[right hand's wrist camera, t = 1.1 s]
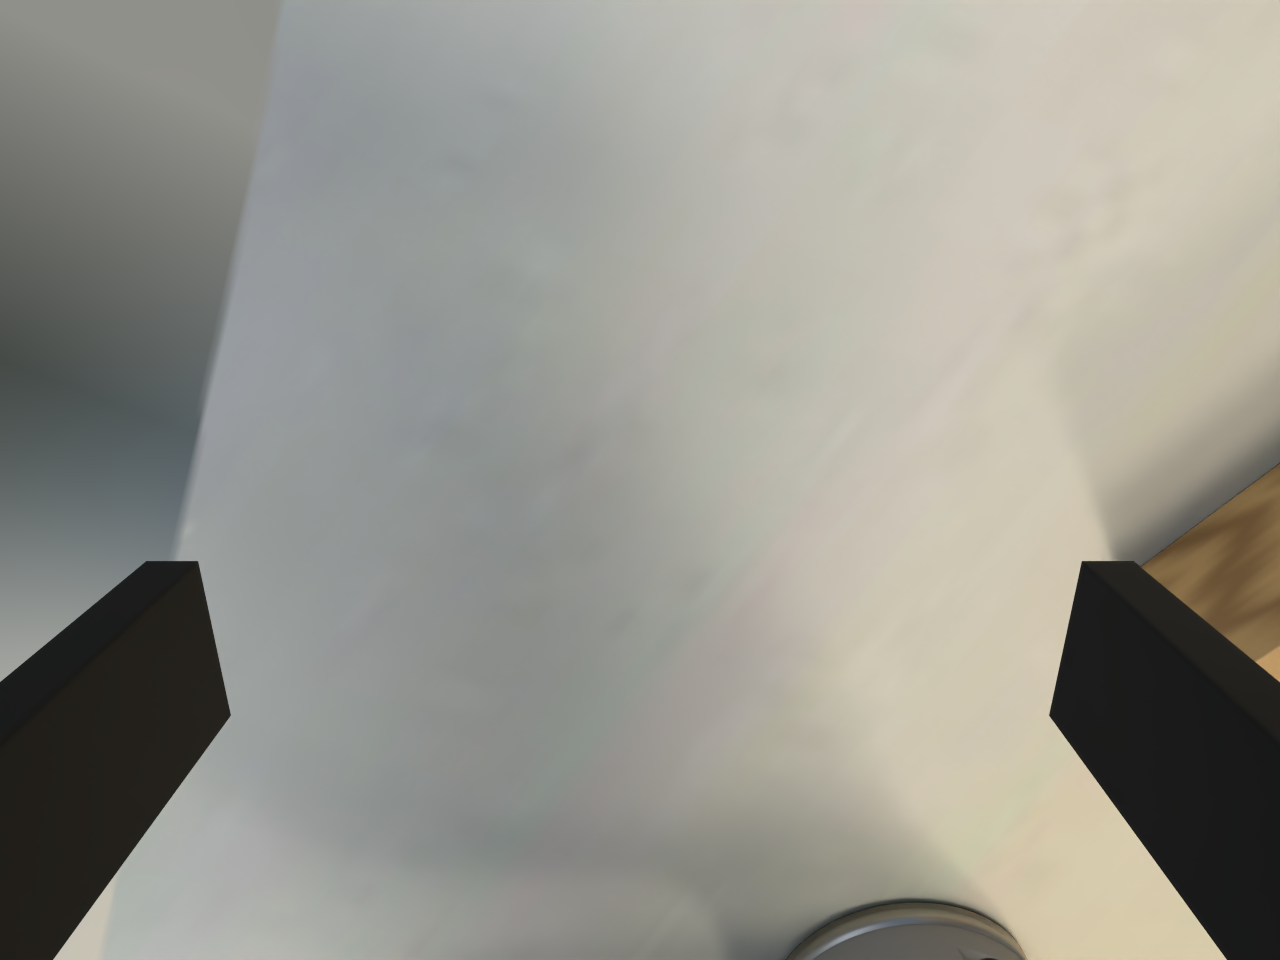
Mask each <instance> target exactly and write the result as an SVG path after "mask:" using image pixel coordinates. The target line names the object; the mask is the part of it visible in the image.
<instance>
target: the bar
mask: <svg viewBox="0 0 1280 960" xmlns="http://www.w3.org/2000/svg"><path fill="white" fill-rule="evenodd" d="M1141 568H1142V569H1144V570H1145V571H1146V572H1147V573H1148V574H1150V575H1151V576H1152V577H1153V578H1154V579H1156V580H1157V581H1158V582H1159V583H1160V584H1162V585H1163V586H1164V587H1165V588H1167V589H1168V590H1169V591H1170V592H1171V593H1173V594H1174V595H1175V596H1176V597H1177V598H1179V599H1180V600H1181V601H1182V602H1183V603H1185V604H1186V605H1187V606H1188V607H1190V608H1191V609H1192V610H1193V611H1194V612H1196V613H1197V614H1198V615H1199V616H1200V617H1202V618H1203V619H1204V620H1205V621H1206V622H1208V623H1209V624H1210V625H1211V626H1212V627H1214V628H1215V629H1216V630H1217V631H1219V632H1220V633H1221V634H1222V635H1223V636H1225V637H1226V638H1227V639H1228V640H1229V641H1231V642H1232V643H1233V644H1234V645H1235V646H1237V647H1238V648H1239V649H1240V650H1242V651H1243V652H1244V653H1245V654H1246V655H1248V656H1249V657H1250V658H1251V659H1252V660H1254V661H1255V662H1256V663H1257V664H1258V665H1260V666H1261V667H1262V668H1263V669H1265V670H1266V671H1267V672H1268V673H1269V674H1271V675H1272V676H1273V677H1274V678H1275V679H1277V680H1278V681H1279V682H1280V464H1279V465H1277V466H1276V467H1275V468H1273V469H1272V470H1271V471H1269V472H1268V473H1267V474H1265V475H1264V476H1262V477H1261V478H1260V479H1258V480H1257V481H1256V482H1254V483H1253V484H1252V485H1250V486H1249V487H1248V488H1246V489H1245V490H1244V491H1242V492H1241V493H1240V494H1238V495H1237V496H1236V497H1234V498H1233V499H1232V500H1230V501H1229V502H1227V503H1226V504H1225V505H1223V506H1222V507H1221V508H1219V509H1218V510H1217V511H1215V512H1214V513H1213V514H1211V515H1210V516H1209V517H1207V518H1206V519H1205V520H1203V521H1202V522H1201V523H1199V524H1198V525H1197V526H1195V527H1194V528H1192V529H1191V530H1190V531H1188V532H1187V533H1186V534H1184V535H1183V536H1182V537H1180V538H1179V539H1178V540H1176V541H1175V542H1174V543H1172V544H1171V545H1170V546H1168V547H1167V548H1166V549H1164V550H1163V551H1162V552H1160V553H1159V554H1157V555H1156V556H1155V557H1153V558H1152V559H1151V560H1149V561H1148V562H1147V563H1145V564H1144V565H1143V566H1141Z"/></svg>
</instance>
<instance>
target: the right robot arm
mask: <svg viewBox="0 0 1280 960" xmlns="http://www.w3.org/2000/svg"><path fill="white" fill-rule="evenodd" d="M230 716H231V714H230V710H229V705H228V700H227V695H226V691H225V686H224V681H223V677H222V672H221V667H220V662H219V658H218V653H217V648H216V644H215V639H214V634H213V629H212V625H211V620H210V615H209V611H208V606H207V601H206V596H205V592H204V587H203V582H202V578H201V573H200V568H199V564H198V561H146V562H145V563H144V564H142V565H141V566H140V567H139V568H138V569H136V570H135V571H134V572H133V573H132V574H130V575H129V576H128V577H127V578H126V579H124V580H123V581H122V582H121V583H120V584H118V585H117V586H116V587H115V588H113V589H112V590H111V591H110V592H109V593H107V594H106V595H105V596H104V597H103V598H101V599H100V600H99V601H98V602H97V603H95V604H94V605H93V606H92V607H91V608H89V609H88V610H87V611H86V612H84V613H83V614H82V615H81V616H80V617H78V618H77V619H76V620H75V621H74V622H72V623H71V624H70V625H69V626H68V627H66V628H65V629H64V630H63V631H61V632H60V633H59V634H58V635H57V636H55V637H54V638H53V639H52V640H51V641H49V642H48V643H47V644H46V645H45V646H43V647H42V648H41V649H40V650H38V651H37V652H36V653H35V654H34V655H32V656H31V657H30V658H29V659H28V660H26V661H25V662H24V663H23V664H22V665H20V666H19V667H18V668H17V669H15V670H14V671H13V672H12V673H11V674H10V675H8V676H7V677H6V678H5V679H3V680H2V681H1V682H0V960H53V959H54V958H55V956H56V955H57V954H58V952H59V951H60V949H61V948H62V947H63V945H64V944H65V943H66V941H67V940H68V938H69V937H70V936H71V934H72V933H73V932H74V930H75V929H76V927H77V926H78V925H79V923H80V922H81V921H82V919H83V918H84V916H85V915H86V914H87V912H88V911H89V909H90V908H91V907H92V905H93V904H94V903H95V901H96V900H97V899H98V897H99V896H100V894H101V893H102V892H103V890H104V889H105V888H106V886H107V885H108V883H109V882H110V881H111V879H112V878H113V877H114V875H115V874H116V872H117V871H118V870H119V868H120V867H121V866H122V864H123V863H124V861H125V860H126V859H127V857H128V856H129V855H130V853H131V852H132V850H133V849H134V848H135V846H136V845H137V844H138V842H139V841H140V839H141V838H142V837H143V835H144V834H145V833H146V831H147V830H148V828H149V827H150V826H151V824H152V823H153V822H154V820H155V819H156V818H157V816H158V815H159V813H160V812H161V811H162V809H163V808H164V807H165V805H166V804H167V802H168V801H169V800H170V798H171V797H172V796H173V794H174V793H175V791H176V790H177V789H178V787H179V786H180V785H181V783H182V782H183V780H184V779H185V778H186V776H187V775H188V774H189V772H190V771H191V769H192V768H193V767H194V765H195V764H196V763H197V761H198V760H199V758H200V757H201V756H202V754H203V753H204V752H205V750H206V749H207V747H208V746H209V745H210V743H211V742H212V741H213V739H214V738H215V736H216V735H217V734H218V732H219V731H220V730H221V728H222V727H223V725H224V724H225V723H226V721H227V720H228V719H229V717H230ZM1049 716H1050V717H1051V719H1052V720H1053V721H1054V723H1055V724H1056V725H1057V727H1058V728H1059V730H1060V731H1061V732H1062V734H1063V735H1064V736H1065V738H1066V739H1067V741H1068V742H1069V743H1070V745H1071V746H1072V747H1073V749H1074V750H1075V752H1076V753H1077V754H1078V756H1079V757H1080V758H1081V760H1082V761H1083V763H1084V764H1085V765H1086V767H1087V768H1088V769H1089V771H1090V772H1091V774H1092V775H1093V776H1094V778H1095V779H1096V780H1097V782H1098V783H1099V785H1100V786H1101V787H1102V789H1103V790H1104V791H1105V793H1106V794H1107V796H1108V797H1109V798H1110V800H1111V801H1112V802H1113V804H1114V805H1115V807H1116V808H1117V809H1118V811H1119V812H1120V813H1121V815H1122V816H1123V818H1124V819H1125V820H1126V822H1127V823H1128V824H1129V826H1130V827H1131V828H1132V830H1133V831H1134V833H1135V834H1136V835H1137V837H1138V838H1139V839H1140V841H1141V842H1142V844H1143V845H1144V846H1145V848H1146V849H1147V850H1148V852H1149V853H1150V855H1151V856H1152V857H1153V859H1154V860H1155V861H1156V863H1157V864H1158V866H1159V867H1160V868H1161V870H1162V871H1163V872H1164V874H1165V875H1166V877H1167V878H1168V879H1169V881H1170V882H1171V883H1172V885H1173V886H1174V888H1175V889H1176V890H1177V892H1178V893H1179V894H1180V896H1181V897H1182V899H1183V900H1184V901H1185V903H1186V904H1187V905H1188V907H1189V908H1190V910H1191V911H1192V912H1193V914H1194V915H1195V916H1196V918H1197V919H1198V921H1199V922H1200V923H1201V925H1202V926H1203V927H1204V929H1205V930H1206V932H1207V933H1208V934H1209V936H1210V937H1211V938H1212V940H1213V941H1214V943H1215V944H1216V945H1217V947H1218V948H1219V949H1220V951H1221V952H1222V954H1223V955H1224V956H1225V958H1226V959H1227V960H1280V682H1279V681H1278V680H1277V679H1275V678H1274V677H1273V676H1272V675H1271V674H1269V673H1268V672H1267V671H1266V670H1265V669H1263V668H1262V667H1261V666H1260V665H1258V664H1257V663H1256V662H1255V661H1254V660H1252V659H1251V658H1250V657H1249V656H1248V655H1246V654H1245V653H1244V652H1243V651H1242V650H1240V649H1239V648H1238V647H1237V646H1235V645H1234V644H1233V643H1232V642H1231V641H1229V640H1228V639H1227V638H1226V637H1225V636H1223V635H1222V634H1221V633H1220V632H1219V631H1217V630H1216V629H1215V628H1214V627H1212V626H1211V625H1210V624H1209V623H1208V622H1206V621H1205V620H1204V619H1203V618H1202V617H1200V616H1199V615H1198V614H1197V613H1196V612H1194V611H1193V610H1192V609H1191V608H1190V607H1188V606H1187V605H1186V604H1185V603H1183V602H1182V601H1181V600H1180V599H1179V598H1177V597H1176V596H1175V595H1174V594H1173V593H1171V592H1170V591H1169V590H1168V589H1167V588H1165V587H1164V586H1163V585H1162V584H1160V583H1159V582H1158V581H1157V580H1156V579H1154V578H1153V577H1152V576H1151V575H1150V574H1148V573H1147V572H1146V571H1145V570H1144V569H1142V568H1141V567H1140V566H1139V565H1138V564H1136V563H1135V562H1134V561H1082V564H1081V568H1080V573H1079V578H1078V582H1077V587H1076V592H1075V596H1074V601H1073V606H1072V611H1071V615H1070V620H1069V625H1068V629H1067V634H1066V639H1065V644H1064V648H1063V653H1062V658H1061V662H1060V667H1059V672H1058V677H1057V681H1056V686H1055V691H1054V695H1053V700H1052V705H1051V710H1050V714H1049ZM786 960H1027V958H1026V956H1025V954H1024V952H1023V950H1022V949H1021V947H1020V946H1019V945H1018V943H1017V942H1016V941H1015V939H1014V938H1013V937H1012V936H1011V935H1010V934H1009V933H1008V932H1006V931H1005V930H1004V929H1003V928H1001V927H1000V926H999V925H997V924H995V923H994V922H992V921H991V920H989V919H987V918H985V917H983V916H981V915H979V914H976V913H974V912H971V911H968V910H965V909H961V908H958V907H953V906H949V905H943V904H935V903H920V902H917V903H897V904H889V905H883V906H877V907H873V908H869V909H865V910H862V911H859V912H855V913H852V914H850V915H847V916H845V917H842V918H840V919H838V920H836V921H834V922H832V923H830V924H828V925H826V926H825V927H823V928H821V929H819V930H818V931H816V932H815V933H814V934H812V935H811V936H809V937H808V938H807V939H806V940H805V941H803V942H802V943H801V944H800V945H799V946H798V947H797V948H796V949H795V950H794V951H793V952H792V953H791V954H790V956H789V957H788V958H787V959H786Z"/></svg>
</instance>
